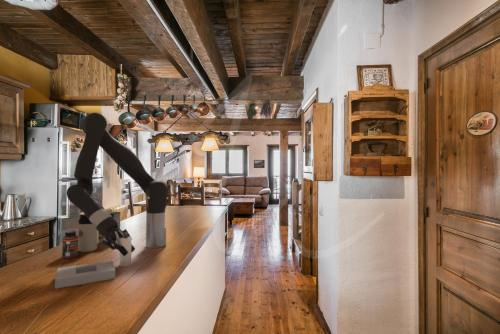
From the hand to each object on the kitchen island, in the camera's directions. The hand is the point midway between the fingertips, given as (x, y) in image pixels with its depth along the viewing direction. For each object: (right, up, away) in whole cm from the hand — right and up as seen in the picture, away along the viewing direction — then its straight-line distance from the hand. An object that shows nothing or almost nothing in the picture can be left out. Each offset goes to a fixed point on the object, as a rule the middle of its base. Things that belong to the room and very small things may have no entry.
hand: (129, 252), depth 117 cm
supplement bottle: (-31, -5, +10) cm, 33 cm away
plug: (-2, -5, 0) cm, 5 cm away
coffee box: (-26, -5, +35) cm, 44 cm away
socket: (-10, -5, -14) cm, 18 cm away
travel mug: (-29, -5, +20) cm, 36 cm away
